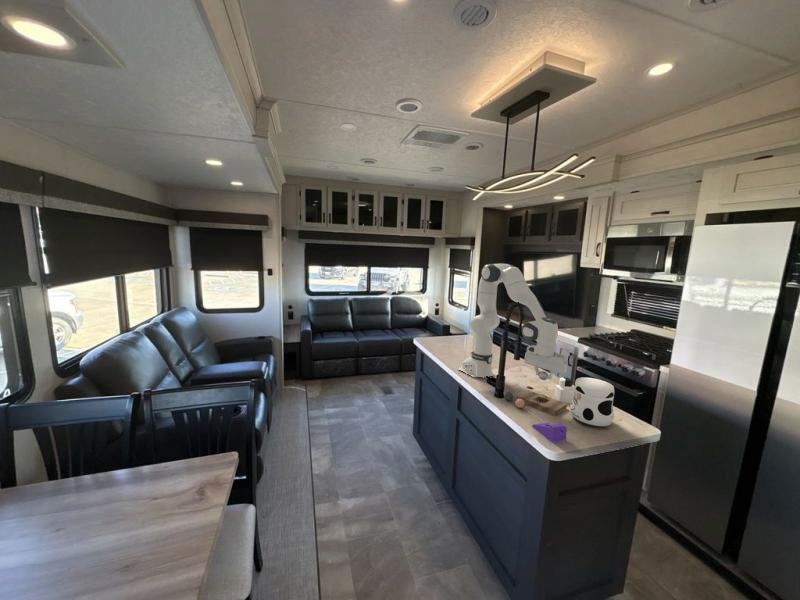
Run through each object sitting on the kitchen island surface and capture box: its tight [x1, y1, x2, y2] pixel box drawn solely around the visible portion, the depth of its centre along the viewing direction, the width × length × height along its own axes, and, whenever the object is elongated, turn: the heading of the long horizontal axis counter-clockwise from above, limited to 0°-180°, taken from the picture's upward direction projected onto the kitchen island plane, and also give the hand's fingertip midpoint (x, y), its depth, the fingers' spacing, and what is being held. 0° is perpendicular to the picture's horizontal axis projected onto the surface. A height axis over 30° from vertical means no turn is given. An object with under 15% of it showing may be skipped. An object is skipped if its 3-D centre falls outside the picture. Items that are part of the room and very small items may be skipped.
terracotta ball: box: [514, 398, 526, 409], centre depth 159 cm, size 4×4×4 cm
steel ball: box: [538, 370, 549, 381], centre depth 161 cm, size 4×4×4 cm
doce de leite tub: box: [569, 377, 615, 428], centre depth 147 cm, size 17×17×18 cm
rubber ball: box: [504, 391, 514, 401], centre depth 167 cm, size 4×4×4 cm
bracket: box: [531, 422, 568, 443], centre depth 136 cm, size 12×7×7 cm, turn 15°
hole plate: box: [516, 389, 568, 416], centre depth 163 cm, size 20×12×2 cm, turn 40°
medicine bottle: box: [554, 376, 574, 404], centre depth 168 cm, size 7×7×12 cm
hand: (543, 376), depth 161 cm, fingers closed on steel ball, 4 cm apart
